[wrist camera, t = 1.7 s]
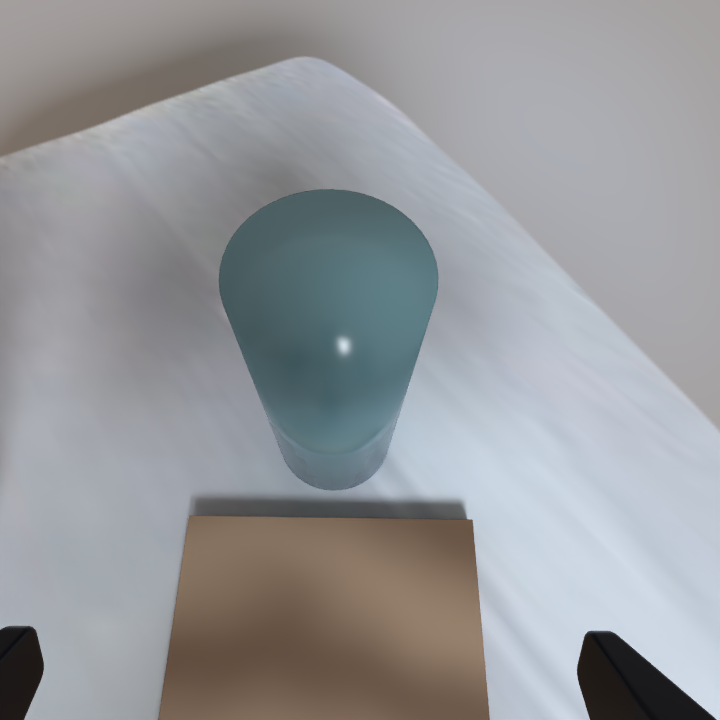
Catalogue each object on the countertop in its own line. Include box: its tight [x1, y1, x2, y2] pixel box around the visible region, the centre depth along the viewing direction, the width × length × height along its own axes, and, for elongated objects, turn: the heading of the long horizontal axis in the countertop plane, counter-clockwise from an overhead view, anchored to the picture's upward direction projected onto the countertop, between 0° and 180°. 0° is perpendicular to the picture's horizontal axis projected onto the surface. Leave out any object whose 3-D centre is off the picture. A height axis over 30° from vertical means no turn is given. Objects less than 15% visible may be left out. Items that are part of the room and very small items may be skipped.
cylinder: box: [219, 189, 438, 490], centre depth 18 cm, size 5×5×13 cm
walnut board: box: [158, 516, 490, 720], centre depth 19 cm, size 12×12×1 cm
